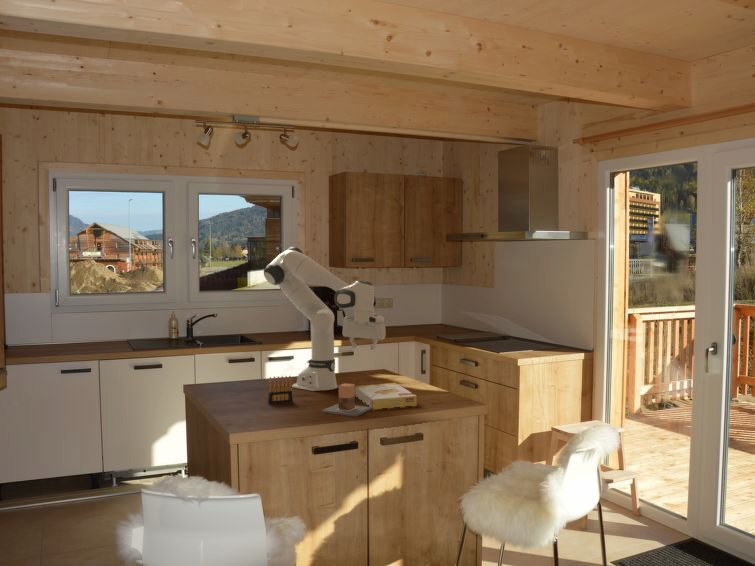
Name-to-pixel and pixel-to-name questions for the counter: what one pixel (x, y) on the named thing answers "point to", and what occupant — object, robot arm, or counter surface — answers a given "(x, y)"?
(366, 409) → the board
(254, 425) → the counter surface
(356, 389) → the cereal box
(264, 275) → the robot arm
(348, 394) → the terracotta cube
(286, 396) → the ammunition clip
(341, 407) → the walnut cube
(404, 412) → the counter surface
